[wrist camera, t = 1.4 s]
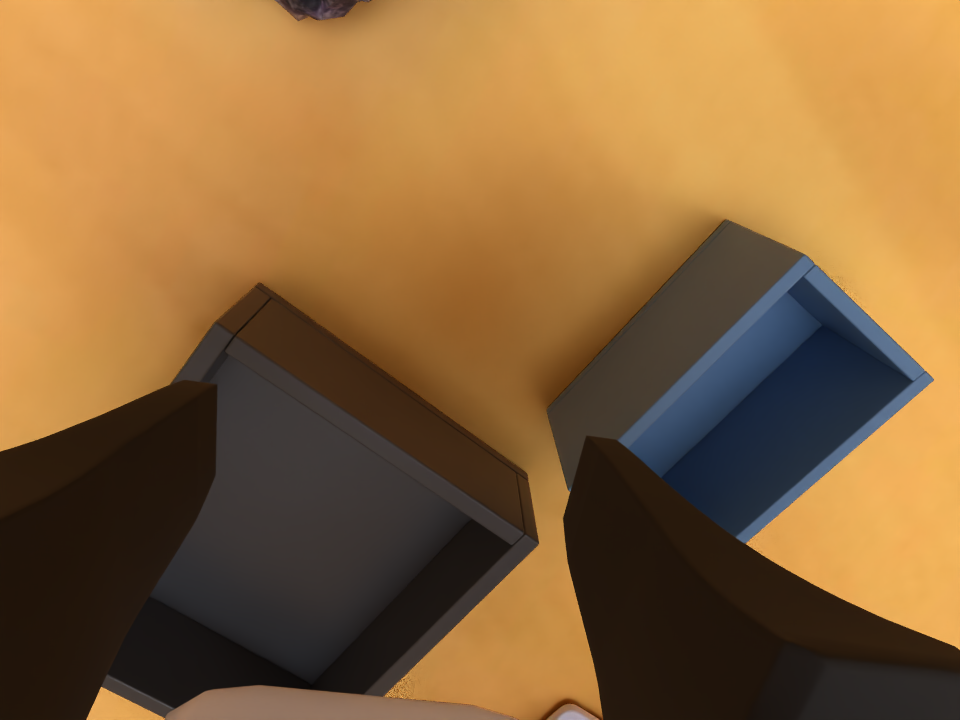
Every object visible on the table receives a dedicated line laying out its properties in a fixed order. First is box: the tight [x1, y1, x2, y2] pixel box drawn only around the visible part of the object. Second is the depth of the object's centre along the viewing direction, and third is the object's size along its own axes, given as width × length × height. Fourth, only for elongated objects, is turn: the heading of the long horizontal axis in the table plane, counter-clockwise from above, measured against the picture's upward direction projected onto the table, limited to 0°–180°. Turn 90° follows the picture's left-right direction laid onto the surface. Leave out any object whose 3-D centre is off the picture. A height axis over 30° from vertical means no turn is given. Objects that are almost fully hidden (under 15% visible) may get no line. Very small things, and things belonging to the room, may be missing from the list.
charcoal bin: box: [101, 283, 539, 718], centre depth 22 cm, size 11×13×4 cm
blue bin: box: [546, 219, 934, 543], centre depth 20 cm, size 8×5×5 cm, turn 140°
